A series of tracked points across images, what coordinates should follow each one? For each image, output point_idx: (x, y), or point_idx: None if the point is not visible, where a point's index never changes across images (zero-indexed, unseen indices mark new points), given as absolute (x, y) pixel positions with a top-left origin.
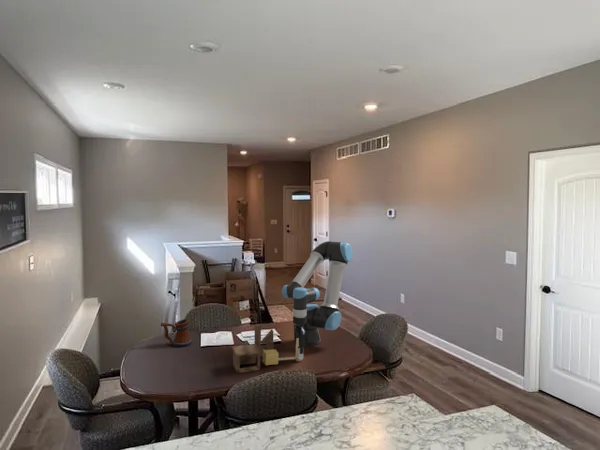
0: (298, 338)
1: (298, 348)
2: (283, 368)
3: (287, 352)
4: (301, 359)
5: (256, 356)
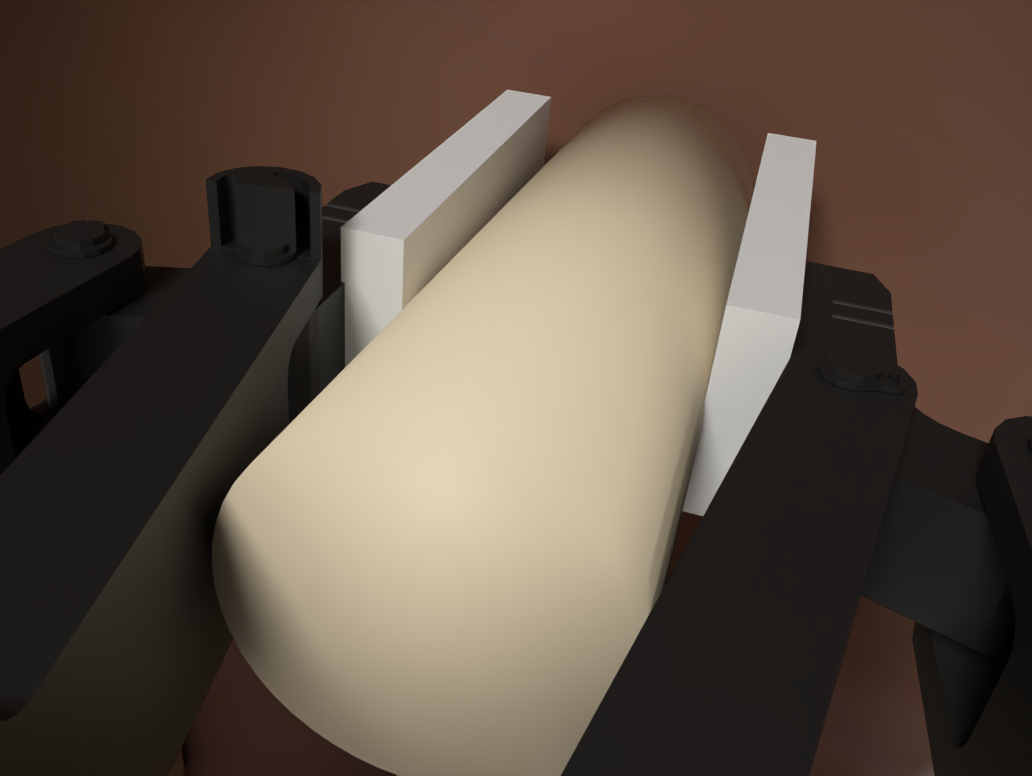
0: (325, 638)
1: (702, 490)
2: (910, 726)
3: (41, 170)
4: (738, 158)
5: (178, 772)
